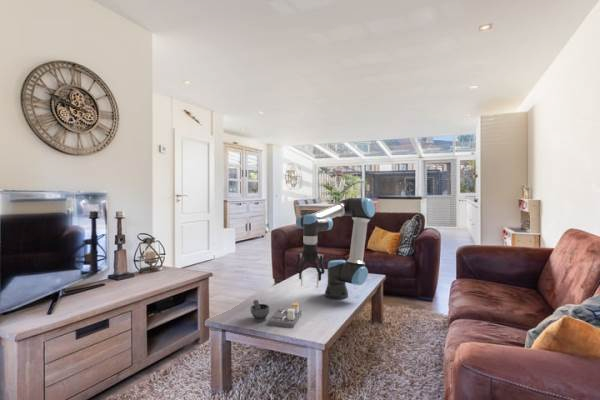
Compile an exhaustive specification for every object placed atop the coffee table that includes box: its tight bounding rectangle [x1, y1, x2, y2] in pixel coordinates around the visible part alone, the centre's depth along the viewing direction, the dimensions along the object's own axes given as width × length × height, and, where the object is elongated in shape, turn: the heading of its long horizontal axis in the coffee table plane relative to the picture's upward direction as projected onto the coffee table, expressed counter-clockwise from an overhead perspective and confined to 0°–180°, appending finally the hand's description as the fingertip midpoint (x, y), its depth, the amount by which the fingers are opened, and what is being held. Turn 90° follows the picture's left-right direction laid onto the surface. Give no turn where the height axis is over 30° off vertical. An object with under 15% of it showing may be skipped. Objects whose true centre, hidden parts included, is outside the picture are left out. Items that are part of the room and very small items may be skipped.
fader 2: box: [291, 302, 300, 314], centre depth 172 cm, size 3×3×5 cm
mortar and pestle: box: [250, 299, 270, 323], centre depth 166 cm, size 11×9×12 cm
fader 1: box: [287, 308, 295, 320], centre depth 163 cm, size 3×3×5 cm
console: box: [268, 308, 302, 328], centre depth 168 cm, size 13×18×2 cm
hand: (310, 285), depth 170 cm, fingers open, 8 cm apart
